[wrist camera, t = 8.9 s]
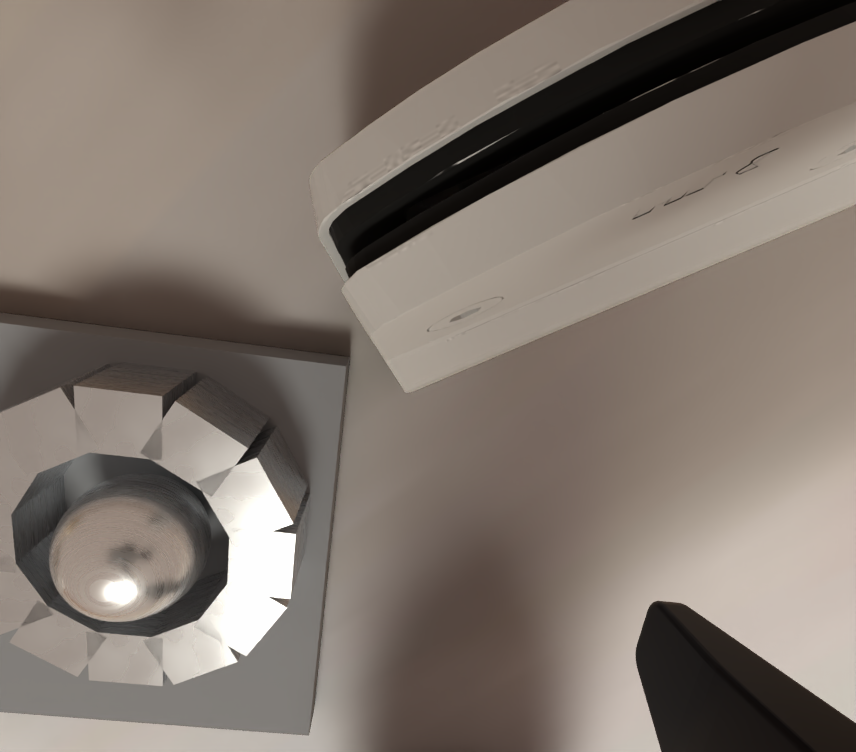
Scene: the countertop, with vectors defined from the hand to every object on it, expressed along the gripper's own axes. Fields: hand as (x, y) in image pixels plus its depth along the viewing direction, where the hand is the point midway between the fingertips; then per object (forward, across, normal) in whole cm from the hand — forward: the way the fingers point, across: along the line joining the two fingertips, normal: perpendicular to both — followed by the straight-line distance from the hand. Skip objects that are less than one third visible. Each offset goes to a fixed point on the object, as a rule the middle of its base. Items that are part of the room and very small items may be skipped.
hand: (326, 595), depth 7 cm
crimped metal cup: (+11, +7, +6) cm, 14 cm away
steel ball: (+9, +7, +6) cm, 12 cm away
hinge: (+12, -6, -6) cm, 15 cm away
